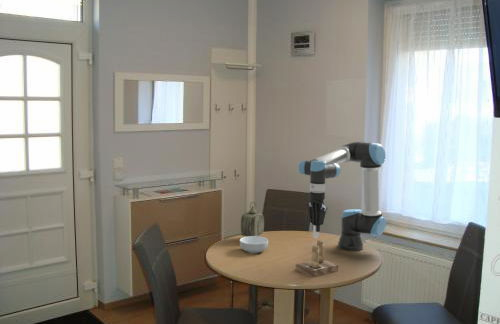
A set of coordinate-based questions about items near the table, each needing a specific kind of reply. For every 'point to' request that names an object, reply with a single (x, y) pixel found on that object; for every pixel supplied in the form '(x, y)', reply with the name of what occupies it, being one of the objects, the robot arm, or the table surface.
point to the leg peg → (315, 257)
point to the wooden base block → (323, 264)
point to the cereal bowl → (253, 244)
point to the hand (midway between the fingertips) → (315, 237)
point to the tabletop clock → (252, 223)
